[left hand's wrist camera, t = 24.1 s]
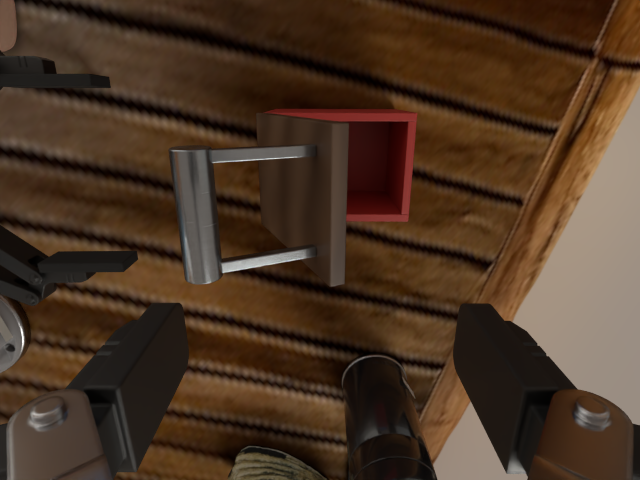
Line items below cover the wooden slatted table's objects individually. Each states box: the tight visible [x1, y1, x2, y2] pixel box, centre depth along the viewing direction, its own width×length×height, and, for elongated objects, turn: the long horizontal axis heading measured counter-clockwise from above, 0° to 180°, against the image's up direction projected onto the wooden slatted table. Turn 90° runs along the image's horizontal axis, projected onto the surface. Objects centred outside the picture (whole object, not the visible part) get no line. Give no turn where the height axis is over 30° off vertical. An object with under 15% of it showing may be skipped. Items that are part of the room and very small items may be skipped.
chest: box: [264, 109, 417, 221], centre depth 41 cm, size 14×10×11 cm
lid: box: [169, 113, 349, 287], centre depth 28 cm, size 15×10×10 cm
